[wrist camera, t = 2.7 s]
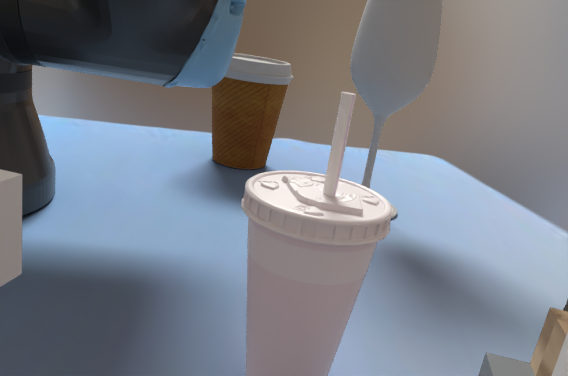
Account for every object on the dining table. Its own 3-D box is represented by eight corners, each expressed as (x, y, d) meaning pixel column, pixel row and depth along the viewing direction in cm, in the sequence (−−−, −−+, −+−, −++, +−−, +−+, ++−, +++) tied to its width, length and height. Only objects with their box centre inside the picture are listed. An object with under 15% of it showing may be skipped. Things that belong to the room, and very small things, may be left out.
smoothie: (276, 457, 20) (344, 107, 16) (190, 365, 25) (225, 71, 20) (376, 397, 24) (451, 109, 20) (288, 328, 29) (334, 79, 25)
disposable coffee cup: (200, 146, 64) (211, 48, 61) (275, 156, 65) (290, 61, 62) (195, 167, 55) (207, 54, 52) (282, 178, 56) (300, 68, 53)
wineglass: (349, 189, 57) (390, -12, 50) (411, 212, 52) (465, -4, 46) (309, 200, 51) (350, -25, 44) (375, 227, 46) (431, -18, 40)
